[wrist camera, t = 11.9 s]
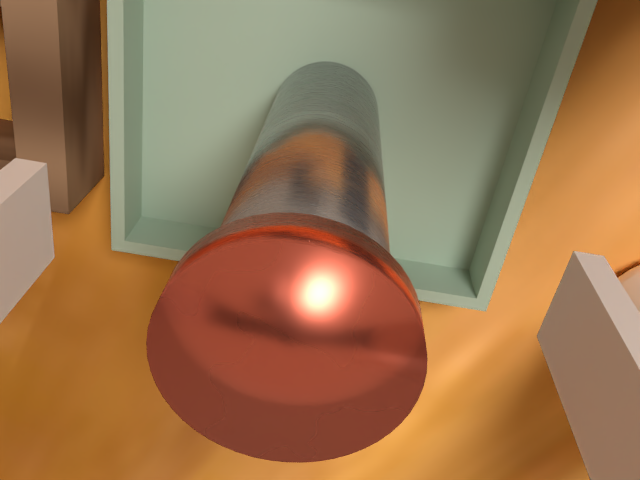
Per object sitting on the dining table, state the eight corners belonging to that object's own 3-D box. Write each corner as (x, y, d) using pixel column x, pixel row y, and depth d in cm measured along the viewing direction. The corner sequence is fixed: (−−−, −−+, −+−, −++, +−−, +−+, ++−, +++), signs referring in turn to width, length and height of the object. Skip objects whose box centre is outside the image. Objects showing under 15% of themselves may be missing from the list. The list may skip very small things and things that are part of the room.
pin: (268, 36, 25) (149, 219, 11) (404, 60, 25) (460, 270, 11) (254, 163, 28) (144, 440, 14) (376, 183, 28) (393, 479, 14)
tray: (133, -109, 23) (104, -109, 21) (578, -30, 24) (605, -20, 21) (133, 219, 30) (111, 249, 28) (475, 275, 31) (485, 311, 28)
